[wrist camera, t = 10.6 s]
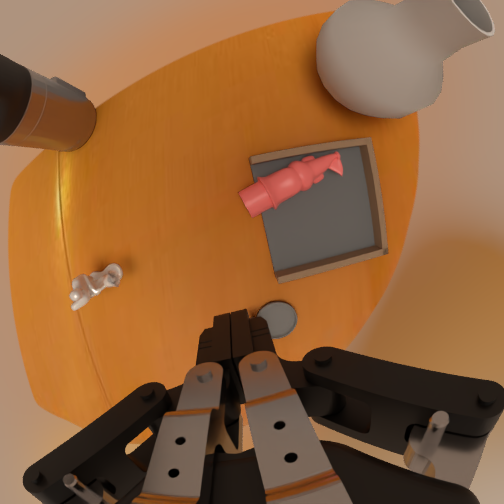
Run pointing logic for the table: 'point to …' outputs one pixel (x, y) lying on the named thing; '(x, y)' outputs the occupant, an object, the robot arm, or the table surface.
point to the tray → (325, 212)
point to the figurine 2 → (288, 182)
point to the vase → (395, 51)
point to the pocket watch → (279, 318)
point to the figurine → (94, 284)
